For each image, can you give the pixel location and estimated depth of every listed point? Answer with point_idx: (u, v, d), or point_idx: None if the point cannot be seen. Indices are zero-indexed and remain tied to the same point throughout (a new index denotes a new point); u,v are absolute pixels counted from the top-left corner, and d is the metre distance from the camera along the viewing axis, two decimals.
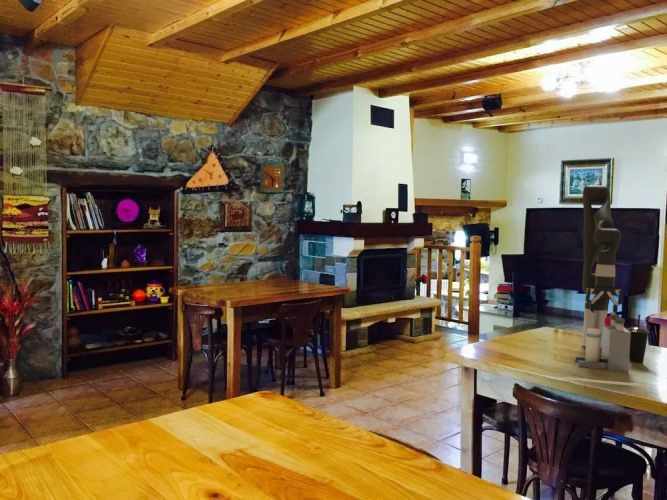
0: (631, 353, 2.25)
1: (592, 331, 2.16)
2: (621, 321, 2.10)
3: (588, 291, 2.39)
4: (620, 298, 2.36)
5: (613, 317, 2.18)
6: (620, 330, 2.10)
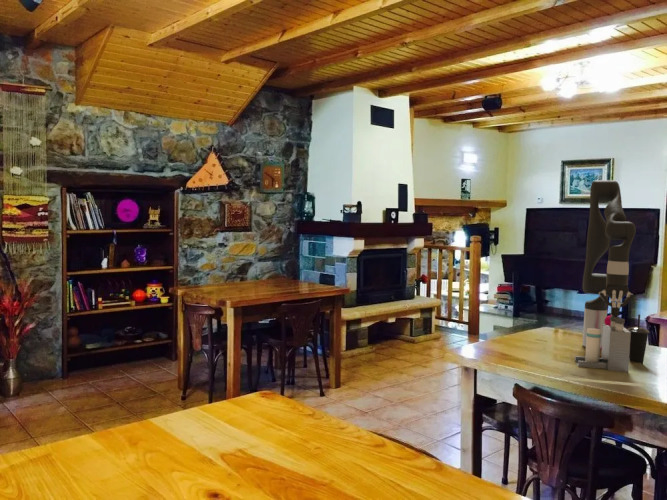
0: (631, 353, 2.25)
1: (592, 331, 2.16)
2: (621, 321, 2.10)
3: (602, 296, 2.19)
4: (626, 301, 2.17)
5: (613, 319, 2.18)
6: (620, 330, 2.10)
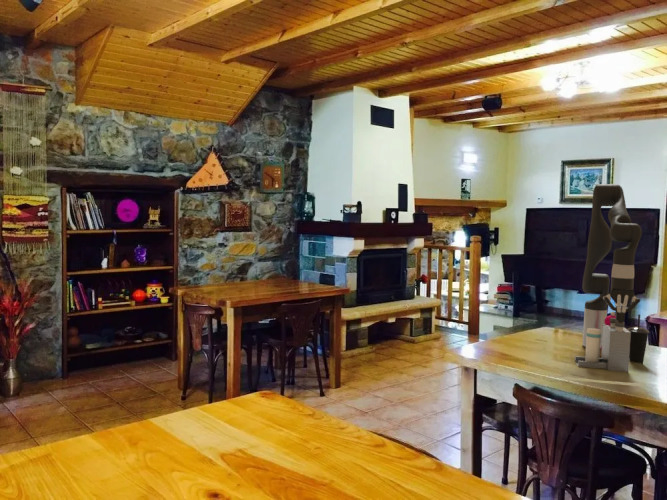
0: (631, 353, 2.25)
1: (592, 331, 2.16)
2: (621, 324, 2.10)
3: (606, 300, 2.11)
4: (632, 305, 2.09)
5: (613, 321, 2.18)
6: None
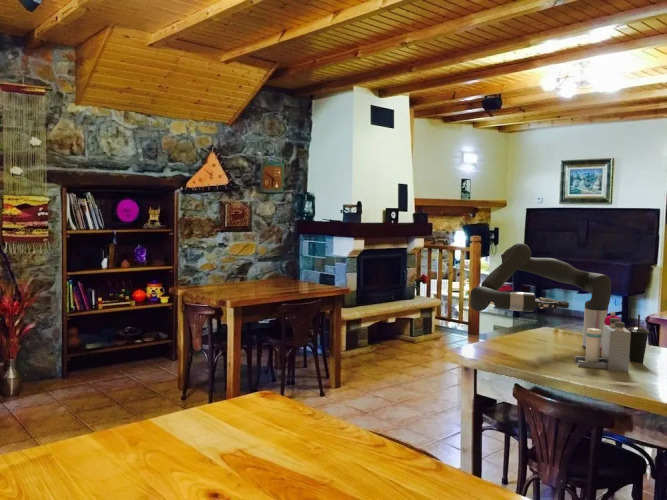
0: (631, 353, 2.25)
1: (592, 331, 2.16)
2: (621, 325, 2.10)
3: None
4: None
5: (613, 321, 2.18)
6: None
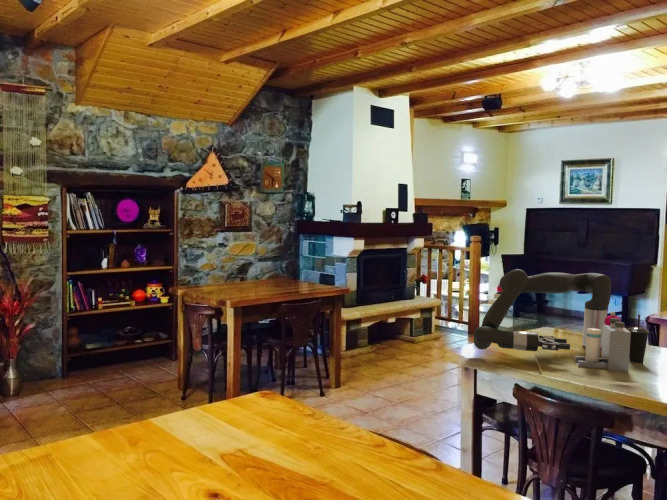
0: (631, 353, 2.25)
1: (592, 331, 2.16)
2: (621, 325, 2.10)
3: None
4: None
5: (613, 321, 2.18)
6: None
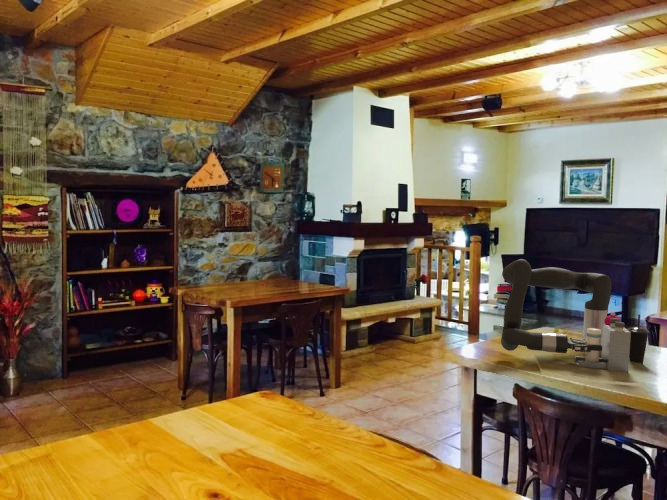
0: (631, 353, 2.25)
1: (592, 331, 2.16)
2: (621, 325, 2.10)
3: None
4: None
5: (613, 321, 2.18)
6: None
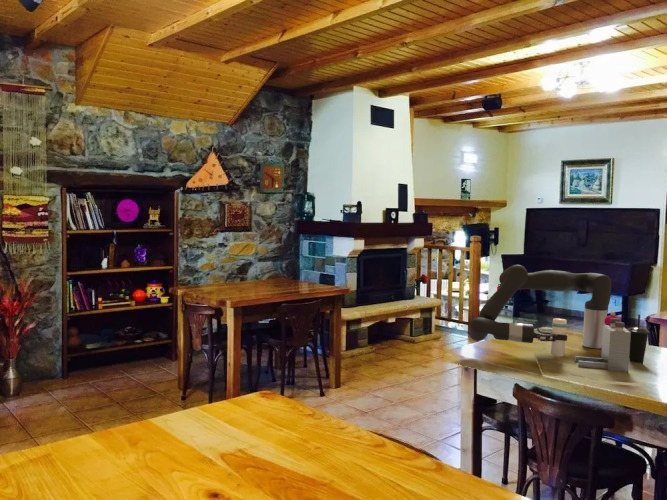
0: (631, 353, 2.25)
1: (557, 321, 2.18)
2: (621, 325, 2.10)
3: None
4: None
5: (613, 321, 2.18)
6: None
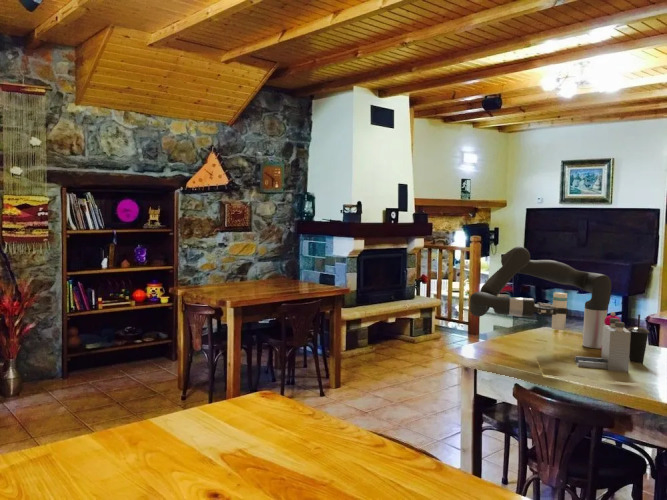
0: (631, 353, 2.25)
1: (558, 294, 2.18)
2: (621, 325, 2.10)
3: None
4: None
5: (613, 321, 2.18)
6: None
